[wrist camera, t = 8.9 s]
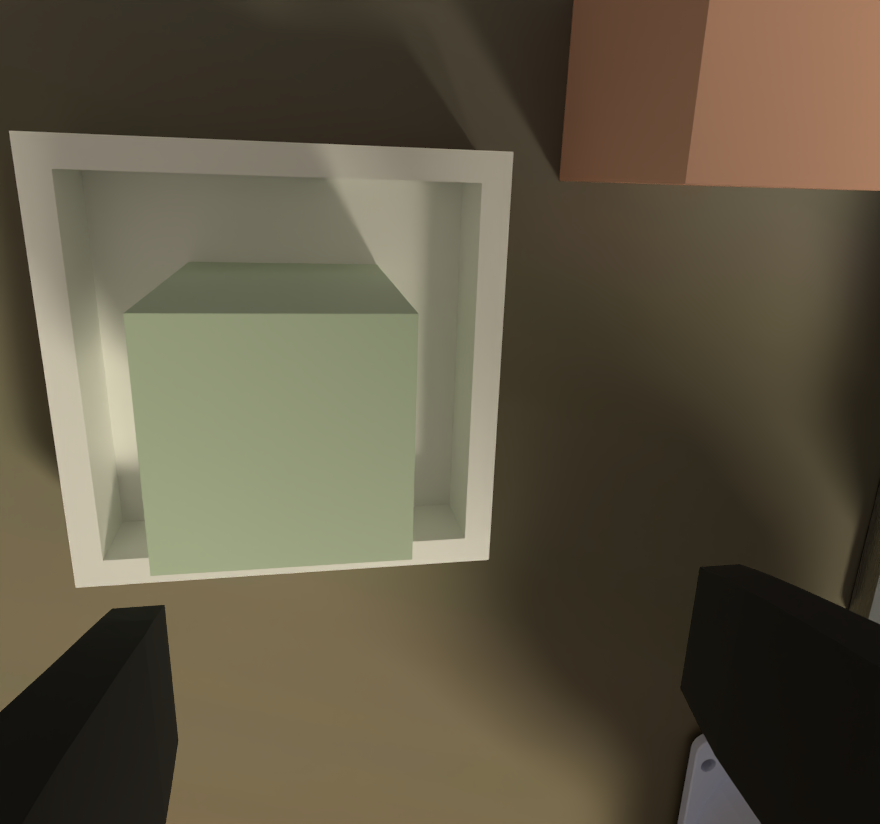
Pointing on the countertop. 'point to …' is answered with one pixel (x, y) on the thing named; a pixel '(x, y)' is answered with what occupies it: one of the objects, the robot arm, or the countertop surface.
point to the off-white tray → (261, 241)
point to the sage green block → (274, 416)
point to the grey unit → (869, 572)
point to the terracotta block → (724, 93)
